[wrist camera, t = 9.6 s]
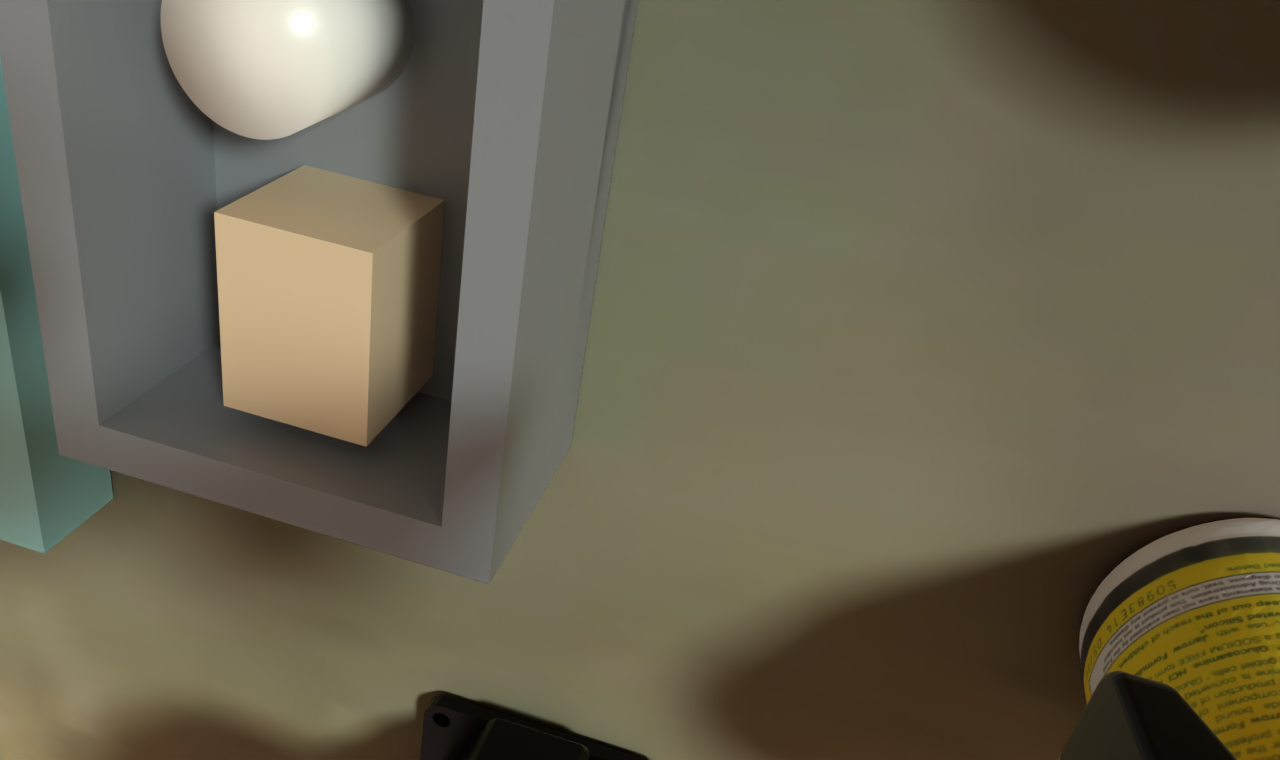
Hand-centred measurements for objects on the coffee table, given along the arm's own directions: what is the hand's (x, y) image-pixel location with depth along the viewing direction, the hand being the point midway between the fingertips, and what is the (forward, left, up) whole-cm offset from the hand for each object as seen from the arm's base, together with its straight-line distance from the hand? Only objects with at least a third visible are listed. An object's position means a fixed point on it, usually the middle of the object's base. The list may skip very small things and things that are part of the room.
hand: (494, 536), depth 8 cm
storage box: (-2, +7, -13) cm, 15 cm away
